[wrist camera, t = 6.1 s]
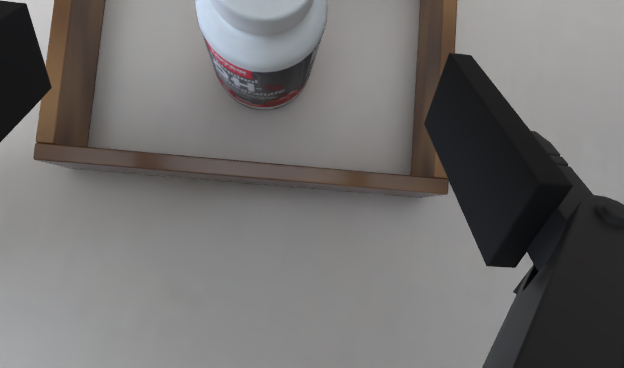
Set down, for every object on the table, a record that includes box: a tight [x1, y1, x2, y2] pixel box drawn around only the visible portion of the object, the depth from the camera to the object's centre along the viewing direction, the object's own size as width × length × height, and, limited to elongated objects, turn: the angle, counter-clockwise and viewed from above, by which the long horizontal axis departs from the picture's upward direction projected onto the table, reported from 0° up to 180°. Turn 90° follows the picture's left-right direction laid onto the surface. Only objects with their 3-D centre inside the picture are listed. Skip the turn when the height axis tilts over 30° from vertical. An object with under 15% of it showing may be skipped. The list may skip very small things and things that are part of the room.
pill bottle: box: [196, 0, 327, 109], centre depth 19 cm, size 5×5×10 cm
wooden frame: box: [34, 0, 457, 198], centre depth 22 cm, size 14×20×4 cm
